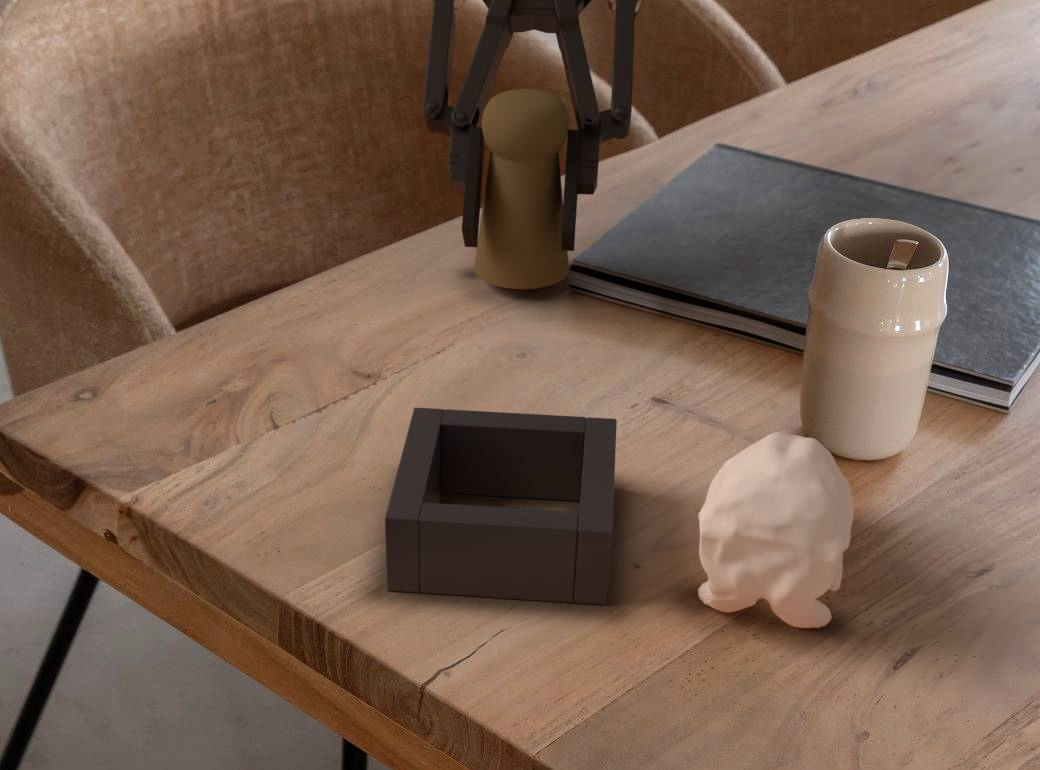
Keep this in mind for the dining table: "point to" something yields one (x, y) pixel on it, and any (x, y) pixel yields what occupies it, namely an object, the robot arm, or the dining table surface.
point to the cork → (523, 191)
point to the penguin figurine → (776, 530)
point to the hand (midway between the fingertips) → (518, 239)
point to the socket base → (498, 530)
